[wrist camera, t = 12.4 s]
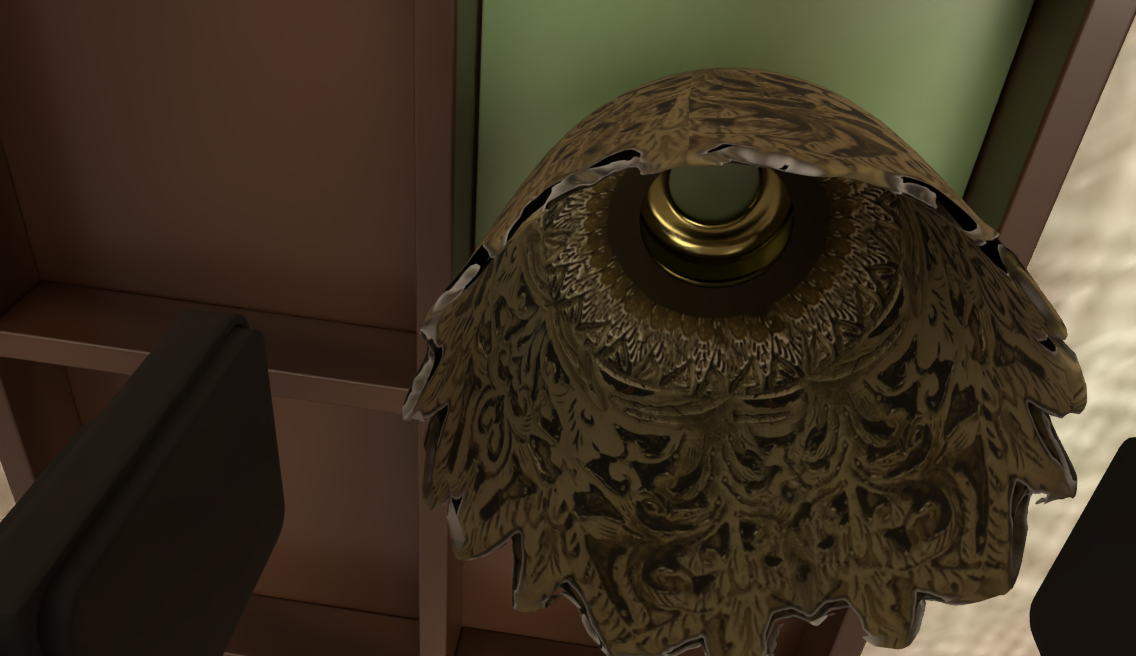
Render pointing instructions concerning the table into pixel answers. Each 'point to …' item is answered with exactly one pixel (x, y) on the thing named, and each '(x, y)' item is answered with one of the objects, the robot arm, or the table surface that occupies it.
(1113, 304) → the table surface
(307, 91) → the grid
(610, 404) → the cup
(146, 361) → the robot arm
